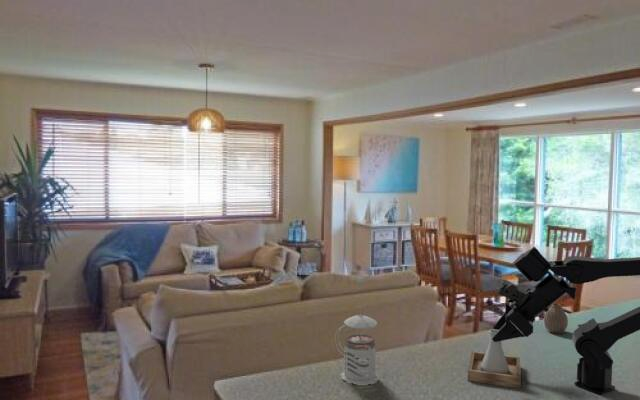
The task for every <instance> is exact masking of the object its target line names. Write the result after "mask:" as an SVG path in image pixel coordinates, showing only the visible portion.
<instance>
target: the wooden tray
mask: <svg viewBox="0 0 640 400" xmlns="http://www.w3.org/2000/svg"><path fill="white" fill-rule="evenodd" d="M485 354H486V352H481V351H473V350H472V351H471V354H470V359H469V364H468V368H467V381H468V382H469V381H471V382H477V383H483V384H489V385H498V386H502V387H503V386H505V387H510V388H511V387H512V388H519V389H521V387H522V386H521V383H522V375H521V374H522V373H521V372H522V371H521V359H520V358H521V357H519V356H515V355H514V356H512V355H506V354H504V355H505V359H506V361H507V364H508V367H509V373H508V374H499V373H492V372H485V371H483V370H481V369H480V366H481V364H482V361H483V359H484V356H485Z"/></svg>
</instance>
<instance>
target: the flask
mask: <svg viewBox="0 0 640 400" xmlns="http://www.w3.org/2000/svg"><path fill="white" fill-rule="evenodd" d="M498 331H499V330H495V329H493V328H492V329H489V330H488V333H489V341H488V346H487V349H486V351H485V353H486V354H485V356H484V359H483V361H482V364H481V366H480V369H481V370H483V371H485V372H492V373H499V374H508V373H509V367H508V364H507V361H506V359H505V355H506V354H505V351H504V348H503V344H502V341H499V342H494V341H493V340H492V338H493V337H494V335H495V334H496V333H497V332H498Z"/></svg>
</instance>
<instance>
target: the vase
mask: <svg viewBox="0 0 640 400" xmlns="http://www.w3.org/2000/svg"><path fill="white" fill-rule="evenodd" d="M543 323H544V324H543V325H544V327H545V328H546V330H547V331H548V332H549V333H551V334H555V335H556V334H563V333H564V332H565V331H566V330H567V328H568V324H569V317H568V315H567V313H566V312H565V310H564V309H563V308H562V305H561V304H559V303H554V304H552V305H551V306H550V307H549V310H548V311H547V312H545V313H544V317H543Z"/></svg>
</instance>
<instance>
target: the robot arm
mask: <svg viewBox="0 0 640 400" xmlns="http://www.w3.org/2000/svg"><path fill="white" fill-rule="evenodd" d="M512 265H513V267H515V269H517V271H518V272H519V273H520V274H521V275H522V276H523V277H524V278H525V279H526V280H527V281H528V282H532V281H533V282H535V283H537V284H535V285H534V286H533V287H529V286H528V287H527V288H526V289H523V288H522V287H520V286H518V285H516V284H514V283H513V282H510V281H509V280H506V279H502V281H501V283H500V285H499V286H498V288H497V294H498V295H499V296H501V297H504V298H506V299H507V300H506V301H505V311H504V312H503V313H502V315H501V316H500V317H499V319H498V320H497V322H496V323H495V324H494V326H493V328H492V330H493V329H495V330H499V331H498V332H497V333H496V334H495V335H494V337H493V338H492V340H493V341H494V342H499V341H501V342H503V341H507V340H513V339H518V338H525V337H526V338H528V337H529V336H530V335H532V334H533V333H534V322H535V321H536V319H537V317H538V316H540V315H541V314H542V313H543V312H545V313H546V312H547V311H548V310H549V308H550V307H551V306H552V304H556V302H557V301H559V299H561V298H563V296H566V294H567V295H568V296H569V297H570V298H571V299H572V300H575V299H577V298H576V291H577V287H576V285H581V284H586V283H587V284H588V283H592V282H595V281H598V280H601V279H605V278H612V277H613V278H615V277H617V278H618V277H633V276H634V277H636V276H637V277H638V276H640V257H638V256H637V257H636V256H635V257H621V258H620V257H619V258H602V259H601V258H595V257H590V256H589V257H588V256H579V255H578V256H577V255H570V256H567V257H565V258H564V259H563V260H551V261H549V260H548V259H546V257H544V255H543V254H541V252H540V251H539V249H538V248H537V247H536V246H533V247H531V249H528V250H526V251H525V252H524V253H522V254H520V255H519V256H518V257H517V258H516V259H515V260H513V262H512ZM556 276H557V277H556ZM564 278H565V279H566V280H567V281H568V282H570V283H571V284H575V285H570V284H569V283H568V282H567V281H566V280H565V279H564ZM639 331H640V306H638V307H636V308H633V309H631V310H630V311H627V312H625V313H623V314H621V315H619V316H616V317H614V318H612V319H610V320H608V321H604V322H597V321H596V319H595V318H593V317H592V318H591V319H589V320H587V321H586V322H585V323H582V324H577V328H576V329H575V330H573V332H572V337H571V338H572V340H571V341H572V343H573V346H574V347H575V350H576V352H577V353H578V354H579V356H581V357H579V360H578V363H577V366H576V380H577V381H575V382H574V385H575V386H577V387H578V388H579V387H580V388H582V389H585V390H587V391H590V392H592V393H595V394H598V395H602V394H606V393H608V392H610V391H613V390H615V389H616V386H615V385H612V380H613V364H614V360H613V358H612V356H611V354H610V353H609V350H610V348H612V347H613V346H614V345H615V343H617V341H619V340H620V339H623V338H625V337H628V336H629V335H632V334H634V333H636V332H639Z"/></svg>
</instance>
